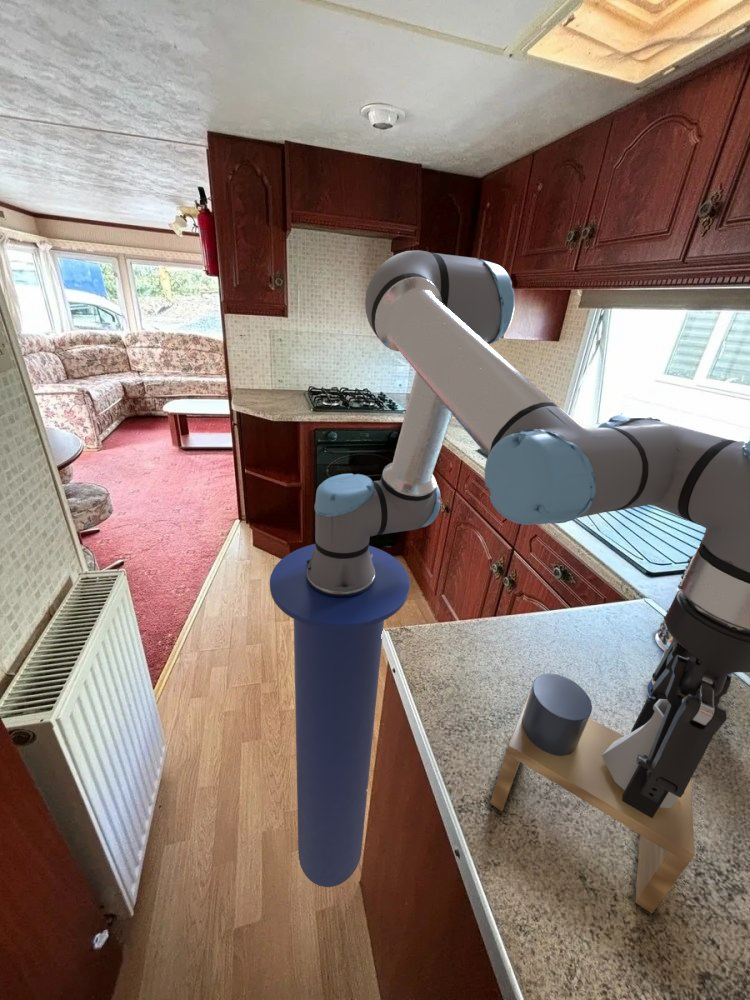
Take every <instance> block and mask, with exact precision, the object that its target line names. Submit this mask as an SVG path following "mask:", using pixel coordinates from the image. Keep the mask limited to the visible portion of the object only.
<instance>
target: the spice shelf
mask: <svg viewBox="0 0 750 1000" xmlns="http://www.w3.org/2000/svg"><path fill="white" fill-rule="evenodd" d="M530 692H531V689H530V690H529V693H528V695H527V698H526V700H525V703H524V705H523V707H522V709H521V712H520V714H519V717H518V720H517V722H516V725H515V726H514V727H515V728H514V730H513V731H512V732H513V733H512V735H511V738H510V740H509V742H508V745H507V748H506V750H505V755H504V758H503V761H502V764H501V767H500V770H499V774H498V777H497V780H496V783H495V786H494V790H493V793H492V796H491V799H490V804H491V806H493V807H494V808H496V809H498V810H499V811H500V812H503V811H504V808H505V805H506V803H507V800H508V798H509V797H508V796H509V794H510V793H511V792H510V791H511V788H512V786H513V783H514V780H515V777H516V776H517V775H516V774H517V773H518V769H519V766H520V764H523V765H525V766H526V767H528V768H529V769H531V770H533V771H534V772H536V773H538V774H539V775H540V776H542V777H544V778H546V779H547V780H549V781H551V782H553V783H555V784H556V785H558V786H559V787H561V788H562V789H565V790H566V791H567V792H569V793H571V794H572V795H574V796H575V797H576V798H579V799H580V800H583V801H584V802H586V804H589V805H590V806H592V807H593V808H595V809H597V810H599V811H600V812H602V813H604V814H605V815H607V816H609V817H610V818H612V819H613V820H616V821H617V822H618V823H620V824H622V825H623V826H626V827H627V828H629V829H630V830H632V831H634V832H635V833H636V834H638V835H639V841H638V854H637V855H638V856H637V857H638V858H637V872H636V885H635V886H636V888H635V902H634V903H636V904H637V905H638V906H640V907H641V908H643V909H644V910H646V911H647V912H649V913H650V914H654V912H655V911H656V910H657V908H658V907H659V905H660V904H661V903H662V901H663V900H664V899H665V896H666V895H668V893H669V892H670V890H671V889H672V887H674V885H675V883H676V882H677V880H678V879H679V878H680V876H681V875H682V874H683V872H684V871H685V870H686V868H687V866H688V865H689V864H690V862H691V861H692V860H693V858H694V857H695V855H696V854H695V834H694V833H695V832H694V812H693V811H694V809H693V790H692V789H693V788H692V779H691V780H690V781H689V783H688V785H687V787H686V789H685V791H684V794H683V795H682V797H678V798H677V799H676V801H675V802H674V804H673V806H672V807H671V808H661V807H659V808H658V810H657V812H656V813H655V815H654V817H653V818H650V817H649V816H647V815H645V814H644V813H642V812H640V811H638V810H637V809H635V808H633V807H632V806H630V805H628V804H626V803H625V802H623V801H622V795H623V793H624V791H625V790H624V789H622V788H621V787H620V786H619V785H618V784H617V783H616V782H615V781H614V779H613V777H612V775H611V773H610V771H609V769H608V767H607V765H606V763H605V761H604V759H603V757H602V754H603V753H604V752H605V751H606V750H607V749H608V748H609V747H610V745H611V744H612V743H613V742H614V741H616V740H618V739H620V738H622V737H624V736H625V735H624V734H621V733H620V732H618V731H616V730H614V729H611V728H610V727H608V726H606V725H604V724H602V723H600V722H598V721H596V720H594V719H592V718H590V717H589V719H588V721H587V724H586V726H585V729H584V731H583V733H582V736H581V738H580V741H579V743H578V745H577V748H576V749H575V751H574V752H573V753H571V754H569V755H566V756H557V755H552V754H549V753H547V752H545V751H543V750H541V749H540V748H538V747H537V746H536V745H535V744H534V743H533V742H532V741H531V740H530V739H529V738H528V736H527V735H526V733H525V731H524V729H523V725H522V717H523V714H524V711H525V708H526V705H527V702H528V698H529V695H530Z"/></svg>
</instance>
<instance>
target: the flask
mask: <svg viewBox="0 0 750 1000" xmlns="http://www.w3.org/2000/svg"><path fill="white" fill-rule="evenodd" d="M668 704H669V702H668V700H667V699H659V700H658V701H657V702H656V703H655V705H654V706H653V709H654V711H655V712H654V714H653V716H652V718H651V719H650V720H649V721H648V722H647V723H646V724H644V725H643V726H641V727H639V728H638V729H636V730H635V731H633V732H631V731H630V732H631V733H630V732H629V733H627V734H625V735H624V737H622V738H620V739H618V740H616V741H614V742H613V743H612V744H611V745H610V747H609V748H608V749H607V750H606V751H605V752H604V753H603V754H602V757H603V759H604V761H605V763H606V765H607V767H608V769H609V771H610V773H611V775H612V777H613V779H614V781H615V782H616V783H617V784H618V785H619V786H620V787H621V788H622V789H624V790H625V789H626V787H627V785H628V784H629V782H630V780H631V778H632V776H633V774H634V773H635V771H636V769H637V767H638V765H639V764H637V757H638V754H639V755H641V756H644V755H646V756H649V753H650V750H651V748H652V745H653V743H654V740H655V737H656V735H657V732H658V730H659V727H660V724H661V722H662V719H663V717H664V714H665V711H666V709H667V706H668ZM677 798H678V796H676V795H674V794H672V793H670V792H668V794H667V796H666V797H665V799H664V800H663V802H662V804H661V805H660V807H661V808H671V807H672V806H673V804H674V802H675V801H676V799H677Z"/></svg>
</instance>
